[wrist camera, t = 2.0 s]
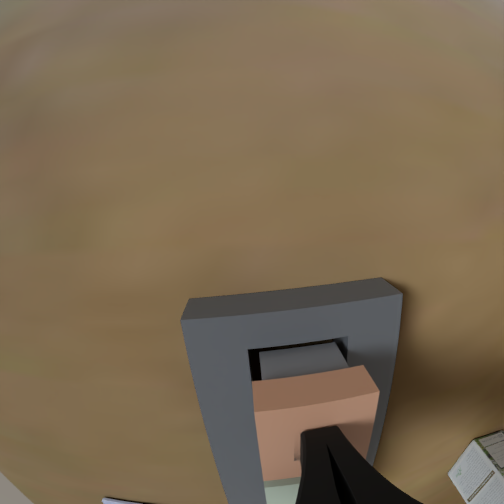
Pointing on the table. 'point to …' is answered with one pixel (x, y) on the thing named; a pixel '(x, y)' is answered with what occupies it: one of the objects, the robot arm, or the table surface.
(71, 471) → the table surface
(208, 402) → the keypad plate
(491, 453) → the syrup box
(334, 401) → the terracotta key
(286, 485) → the sage key
